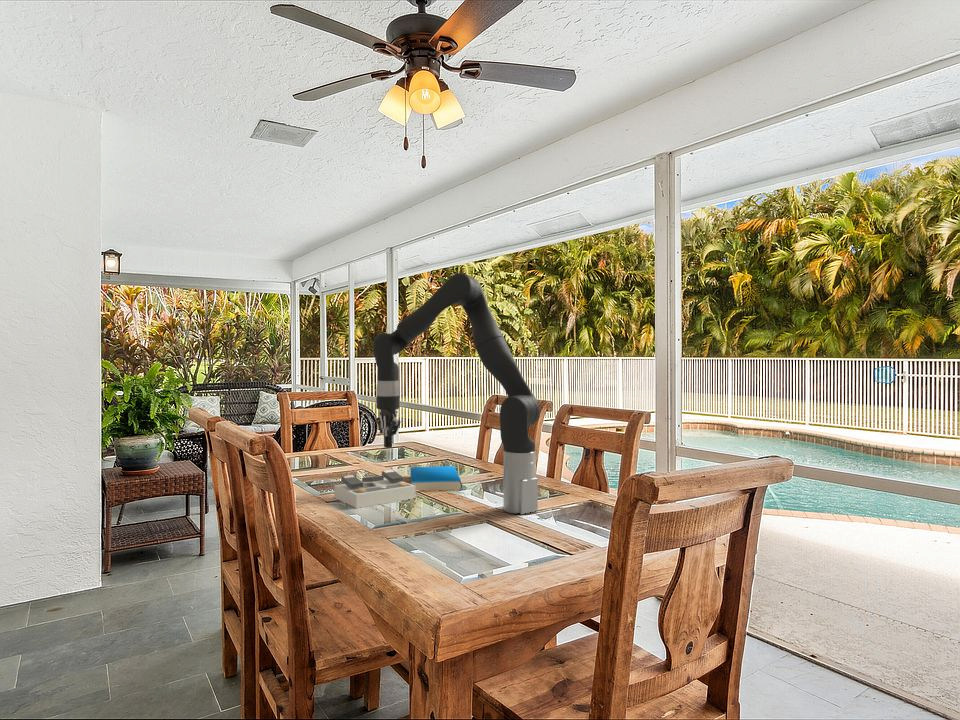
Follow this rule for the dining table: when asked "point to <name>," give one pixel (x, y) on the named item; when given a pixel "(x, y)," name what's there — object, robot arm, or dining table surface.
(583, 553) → the dining table surface
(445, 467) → the book
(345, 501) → the switch unit
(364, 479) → the rocker
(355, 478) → the rocker
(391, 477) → the rocker
